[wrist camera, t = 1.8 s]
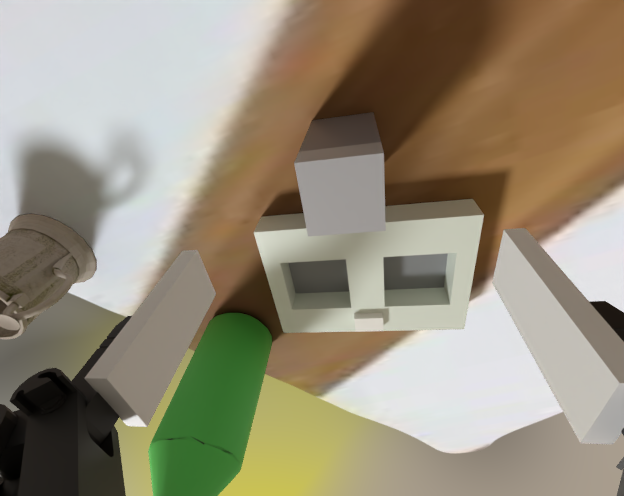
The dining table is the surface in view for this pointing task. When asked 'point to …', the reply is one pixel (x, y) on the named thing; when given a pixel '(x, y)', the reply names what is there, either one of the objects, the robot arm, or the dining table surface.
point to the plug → (342, 176)
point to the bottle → (211, 410)
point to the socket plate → (374, 270)
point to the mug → (38, 269)
